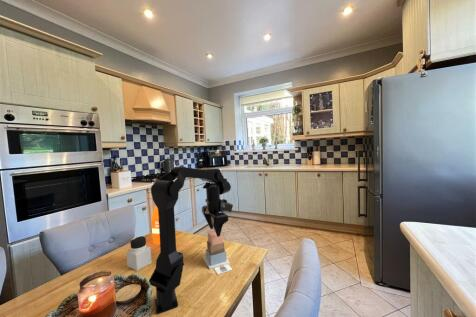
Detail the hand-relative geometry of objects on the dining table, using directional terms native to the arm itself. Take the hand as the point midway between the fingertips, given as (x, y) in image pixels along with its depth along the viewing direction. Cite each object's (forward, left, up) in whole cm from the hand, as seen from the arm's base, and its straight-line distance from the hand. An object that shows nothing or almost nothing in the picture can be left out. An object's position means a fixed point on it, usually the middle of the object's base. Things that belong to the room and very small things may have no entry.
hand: (214, 232), depth 89 cm
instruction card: (-7, 0, -13) cm, 15 cm away
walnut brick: (0, 0, -8) cm, 8 cm away
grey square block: (0, 0, -13) cm, 13 cm away
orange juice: (+33, +19, -13) cm, 40 cm away
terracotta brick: (0, 0, -4) cm, 4 cm away
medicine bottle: (+14, +31, -13) cm, 36 cm away
